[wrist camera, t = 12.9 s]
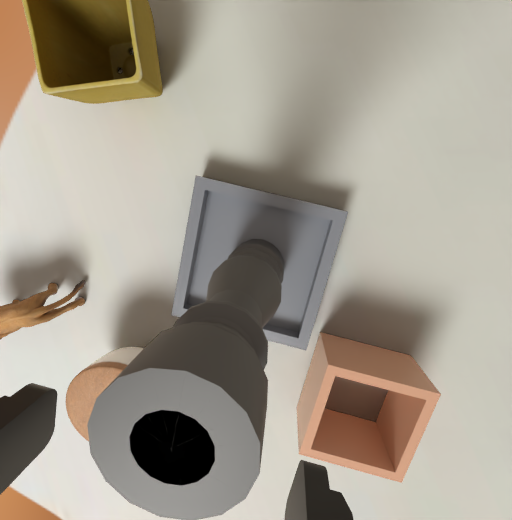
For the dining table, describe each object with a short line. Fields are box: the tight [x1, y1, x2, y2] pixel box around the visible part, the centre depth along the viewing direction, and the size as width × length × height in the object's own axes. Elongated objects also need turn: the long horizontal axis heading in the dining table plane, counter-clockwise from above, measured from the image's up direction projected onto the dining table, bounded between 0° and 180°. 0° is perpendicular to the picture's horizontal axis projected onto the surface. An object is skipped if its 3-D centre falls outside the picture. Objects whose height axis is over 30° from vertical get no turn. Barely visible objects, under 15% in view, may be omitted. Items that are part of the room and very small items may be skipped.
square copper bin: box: [297, 332, 441, 483], centre depth 33 cm, size 11×11×7 cm
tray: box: [171, 176, 348, 350], centre depth 33 cm, size 16×16×2 cm
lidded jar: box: [66, 347, 144, 441], centre depth 35 cm, size 11×11×9 cm
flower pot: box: [22, 0, 163, 104], centre depth 27 cm, size 9×9×9 cm
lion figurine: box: [0, 280, 86, 339], centre depth 34 cm, size 15×5×9 cm, turn 120°
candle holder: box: [87, 239, 284, 520], centre depth 21 cm, size 6×6×25 cm
